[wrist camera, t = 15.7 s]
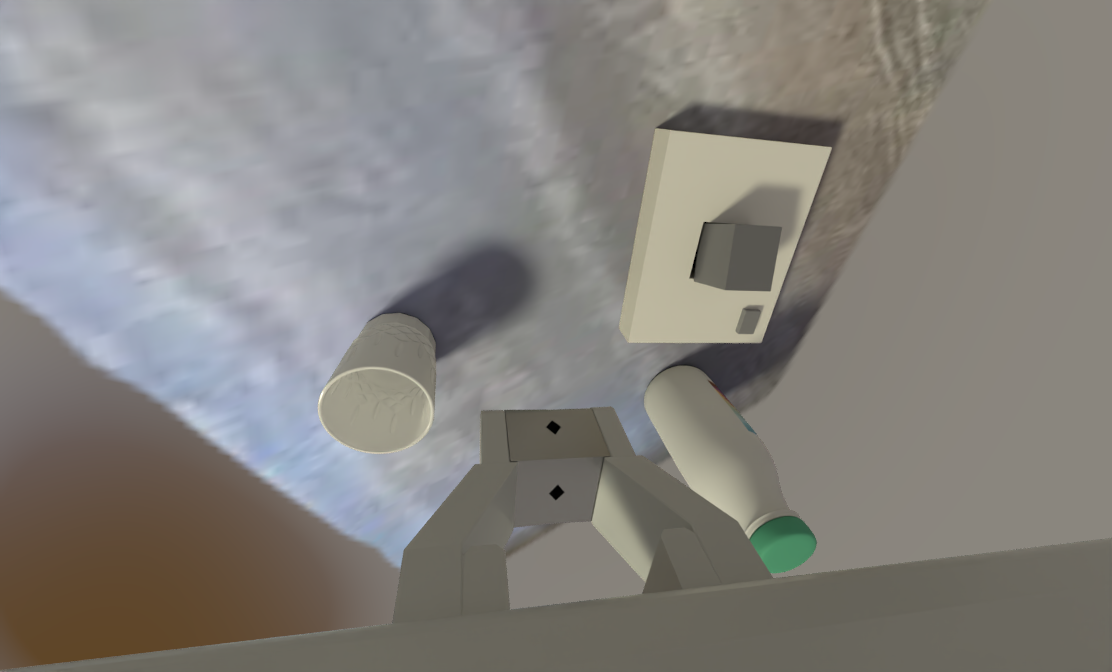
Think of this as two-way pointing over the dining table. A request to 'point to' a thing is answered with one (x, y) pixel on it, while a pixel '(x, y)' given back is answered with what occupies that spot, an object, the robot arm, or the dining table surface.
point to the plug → (737, 256)
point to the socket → (721, 197)
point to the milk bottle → (727, 463)
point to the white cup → (383, 387)
